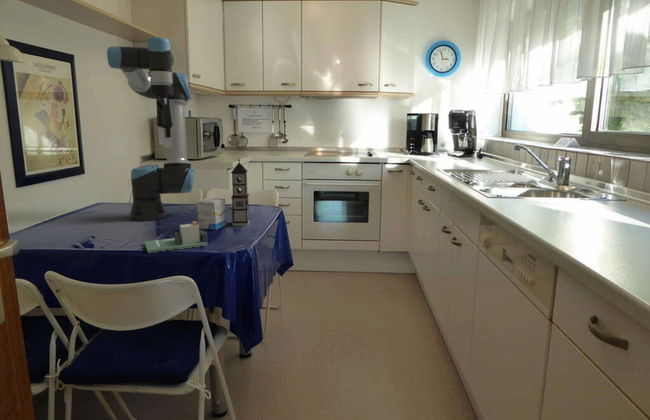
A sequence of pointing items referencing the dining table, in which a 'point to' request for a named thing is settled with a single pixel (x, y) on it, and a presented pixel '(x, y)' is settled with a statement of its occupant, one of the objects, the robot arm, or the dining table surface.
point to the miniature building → (240, 197)
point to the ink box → (211, 213)
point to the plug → (189, 233)
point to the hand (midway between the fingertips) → (165, 145)
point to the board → (174, 243)
